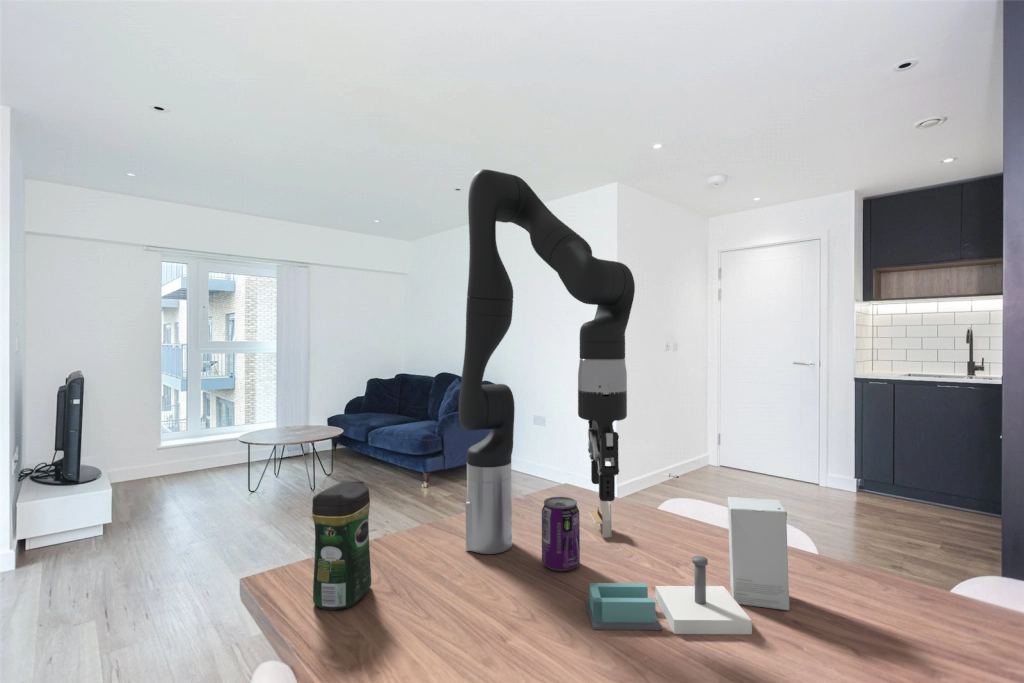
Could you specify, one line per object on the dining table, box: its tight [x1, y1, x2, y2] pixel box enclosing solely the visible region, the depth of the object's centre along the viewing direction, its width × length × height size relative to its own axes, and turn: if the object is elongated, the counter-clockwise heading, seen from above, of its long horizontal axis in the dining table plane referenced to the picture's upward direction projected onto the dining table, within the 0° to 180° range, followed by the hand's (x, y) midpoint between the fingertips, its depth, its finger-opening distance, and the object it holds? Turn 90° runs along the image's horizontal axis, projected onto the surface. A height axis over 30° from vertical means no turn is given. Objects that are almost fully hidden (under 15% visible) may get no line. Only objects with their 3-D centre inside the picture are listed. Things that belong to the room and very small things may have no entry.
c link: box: [588, 582, 656, 623], centre depth 76 cm, size 9×6×3 cm, turn 89°
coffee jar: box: [311, 479, 372, 611], centre depth 82 cm, size 10×8×19 cm
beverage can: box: [541, 496, 581, 572], centre depth 93 cm, size 7×7×12 cm
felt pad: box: [585, 598, 663, 631], centre depth 76 cm, size 10×8×1 cm
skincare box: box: [727, 496, 790, 611], centre depth 81 cm, size 8×7×16 cm
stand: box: [654, 555, 753, 635], centre depth 76 cm, size 11×10×9 cm
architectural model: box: [589, 499, 612, 539], centre depth 110 cm, size 3×7×7 cm, turn 2°
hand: (602, 491), depth 78 cm, fingers open, 8 cm apart
